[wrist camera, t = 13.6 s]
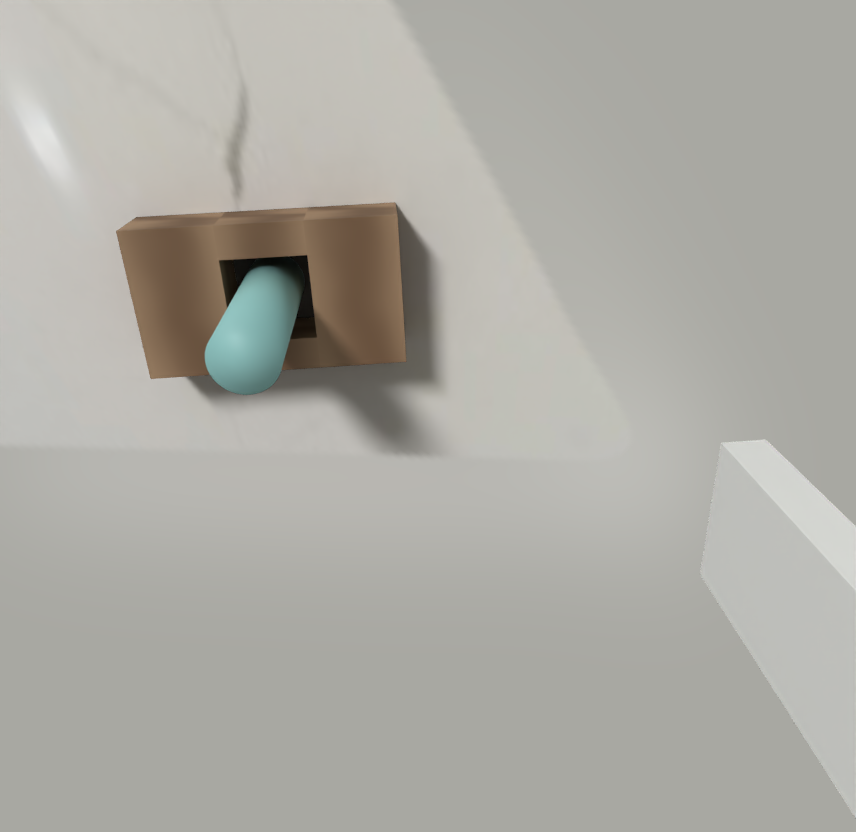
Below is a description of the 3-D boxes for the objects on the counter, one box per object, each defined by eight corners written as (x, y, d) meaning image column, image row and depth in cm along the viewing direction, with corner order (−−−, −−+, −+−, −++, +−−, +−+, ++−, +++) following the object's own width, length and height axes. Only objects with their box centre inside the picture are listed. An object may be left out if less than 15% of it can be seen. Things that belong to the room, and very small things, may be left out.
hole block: (166, 355, 43) (150, 378, 39) (136, 217, 39) (116, 231, 36) (403, 339, 43) (406, 361, 40) (395, 202, 40) (397, 215, 36)
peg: (251, 309, 42) (210, 396, 31) (244, 253, 40) (199, 325, 30) (307, 307, 42) (285, 393, 31) (302, 252, 40) (278, 322, 30)
